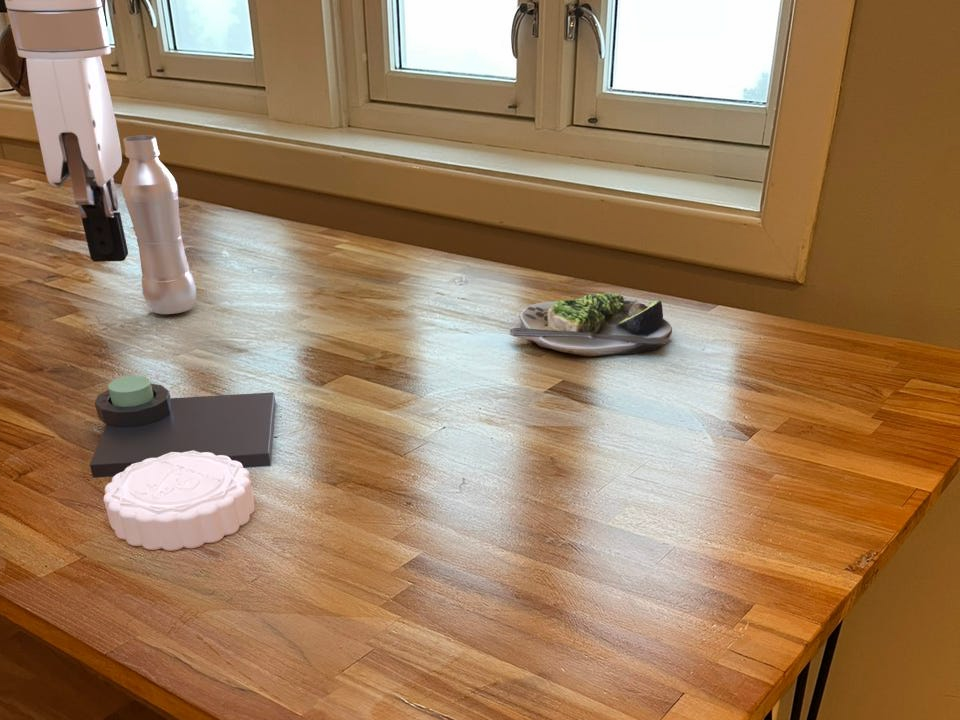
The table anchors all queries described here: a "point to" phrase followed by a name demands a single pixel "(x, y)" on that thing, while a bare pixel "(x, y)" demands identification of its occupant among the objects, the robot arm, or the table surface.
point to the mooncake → (179, 500)
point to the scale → (184, 429)
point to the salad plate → (595, 325)
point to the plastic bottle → (157, 228)
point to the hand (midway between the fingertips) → (110, 258)
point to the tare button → (130, 391)
